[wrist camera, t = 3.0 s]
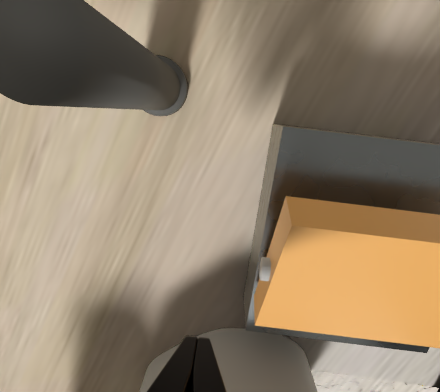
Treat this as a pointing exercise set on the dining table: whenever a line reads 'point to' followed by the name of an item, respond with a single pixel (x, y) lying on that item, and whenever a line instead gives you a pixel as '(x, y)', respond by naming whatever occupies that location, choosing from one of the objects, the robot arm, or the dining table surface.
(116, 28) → the post
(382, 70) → the dining table surface
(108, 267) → the dining table surface
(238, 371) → the lumpy-topped squat cylinder
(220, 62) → the dining table surface
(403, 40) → the dining table surface
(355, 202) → the block
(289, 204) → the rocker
